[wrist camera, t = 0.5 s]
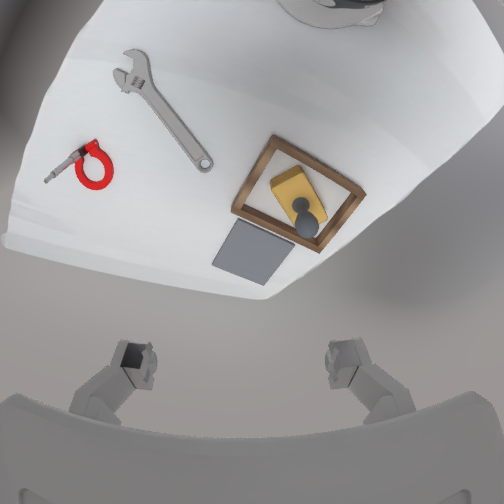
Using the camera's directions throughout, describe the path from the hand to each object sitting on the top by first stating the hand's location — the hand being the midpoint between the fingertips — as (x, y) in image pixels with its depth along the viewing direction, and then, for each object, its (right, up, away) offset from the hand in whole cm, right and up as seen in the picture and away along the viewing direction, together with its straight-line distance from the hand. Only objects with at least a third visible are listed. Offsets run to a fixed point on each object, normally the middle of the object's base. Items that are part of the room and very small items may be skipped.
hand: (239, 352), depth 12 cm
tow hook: (-28, +20, +31) cm, 47 cm away
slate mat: (+1, +4, +43) cm, 43 cm away
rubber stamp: (+9, +14, +35) cm, 39 cm away
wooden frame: (+9, +14, +35) cm, 38 cm away
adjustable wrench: (-14, +27, +26) cm, 40 cm away
